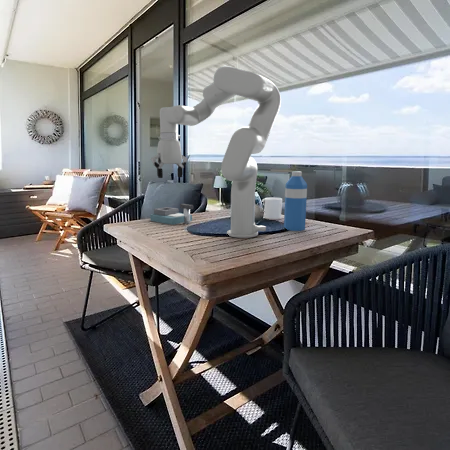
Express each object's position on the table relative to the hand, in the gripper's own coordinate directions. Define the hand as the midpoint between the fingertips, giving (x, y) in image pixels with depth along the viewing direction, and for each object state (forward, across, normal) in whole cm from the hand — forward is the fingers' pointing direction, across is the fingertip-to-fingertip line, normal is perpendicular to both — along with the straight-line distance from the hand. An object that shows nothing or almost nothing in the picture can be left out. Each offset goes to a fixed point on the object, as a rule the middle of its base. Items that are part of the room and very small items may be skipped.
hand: (170, 177), depth 150 cm
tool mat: (+19, -7, -8) cm, 22 cm away
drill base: (+22, -6, -13) cm, 26 cm away
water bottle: (+22, -41, +37) cm, 59 cm away
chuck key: (+22, -9, -1) cm, 24 cm away
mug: (+22, -51, +12) cm, 57 cm away
